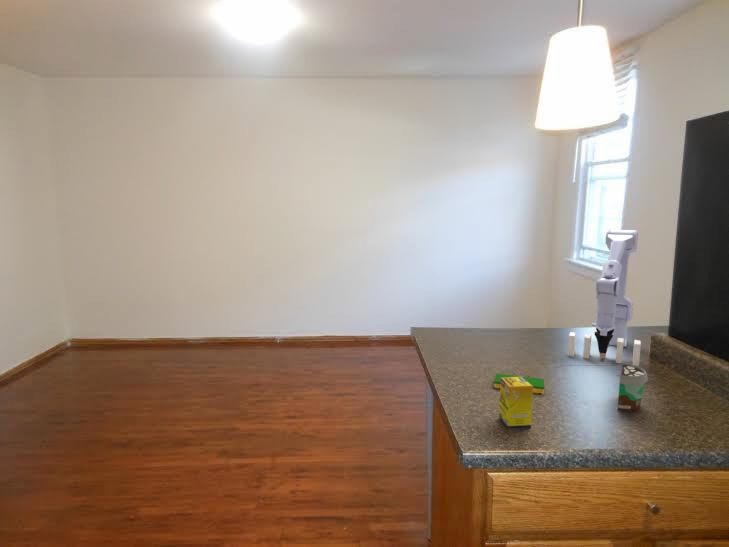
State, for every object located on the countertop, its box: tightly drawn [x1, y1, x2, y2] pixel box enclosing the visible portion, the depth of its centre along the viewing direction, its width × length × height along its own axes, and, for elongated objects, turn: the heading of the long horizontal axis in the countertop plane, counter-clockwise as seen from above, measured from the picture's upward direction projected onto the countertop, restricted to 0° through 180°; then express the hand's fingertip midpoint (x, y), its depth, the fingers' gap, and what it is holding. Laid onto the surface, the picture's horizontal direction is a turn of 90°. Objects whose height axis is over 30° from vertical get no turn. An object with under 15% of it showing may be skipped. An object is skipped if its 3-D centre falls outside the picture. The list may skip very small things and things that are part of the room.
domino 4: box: [615, 338, 624, 364], centre depth 154 cm, size 2×5×8 cm, turn 149°
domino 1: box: [567, 331, 577, 357], centre depth 162 cm, size 2×5×8 cm, turn 149°
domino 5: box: [632, 339, 642, 367], centre depth 152 cm, size 2×5×8 cm, turn 149°
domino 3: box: [598, 353, 607, 359], centre depth 157 cm, size 2×5×8 cm, turn 149°
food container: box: [617, 361, 648, 412], centre depth 120 cm, size 12×6×10 cm, turn 148°
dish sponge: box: [493, 373, 545, 395], centre depth 134 cm, size 7×14×2 cm, turn 69°
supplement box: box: [498, 376, 534, 430], centre depth 111 cm, size 6×6×11 cm
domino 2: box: [582, 333, 592, 360], centre depth 159 cm, size 2×5×8 cm, turn 149°
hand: (603, 350), depth 157 cm, fingers closed on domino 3, 5 cm apart
